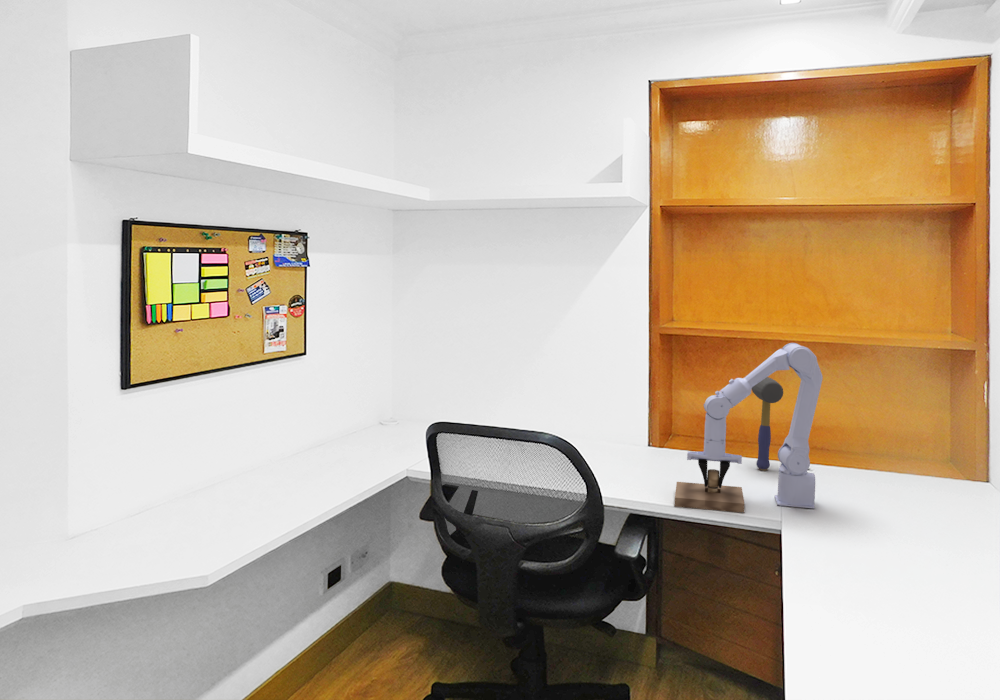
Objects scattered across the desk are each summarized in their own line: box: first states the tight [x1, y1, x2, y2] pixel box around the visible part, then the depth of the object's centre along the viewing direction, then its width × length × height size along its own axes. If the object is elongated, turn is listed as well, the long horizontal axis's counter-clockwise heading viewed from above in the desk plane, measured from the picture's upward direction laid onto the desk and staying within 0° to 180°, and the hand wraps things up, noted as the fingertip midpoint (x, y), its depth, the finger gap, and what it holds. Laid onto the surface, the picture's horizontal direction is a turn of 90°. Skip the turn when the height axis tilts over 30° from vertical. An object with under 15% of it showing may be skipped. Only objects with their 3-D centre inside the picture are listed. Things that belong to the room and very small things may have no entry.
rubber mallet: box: [751, 376, 784, 471], centre depth 230 cm, size 12×8×30 cm, turn 176°
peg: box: [707, 469, 720, 493], centre depth 202 cm, size 3×3×7 cm
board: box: [674, 481, 745, 514], centre depth 200 cm, size 18×15×2 cm
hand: (712, 486), depth 202 cm, fingers closed on peg, 3 cm apart
